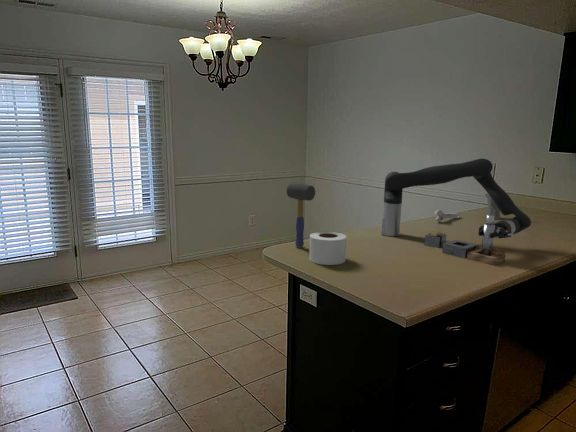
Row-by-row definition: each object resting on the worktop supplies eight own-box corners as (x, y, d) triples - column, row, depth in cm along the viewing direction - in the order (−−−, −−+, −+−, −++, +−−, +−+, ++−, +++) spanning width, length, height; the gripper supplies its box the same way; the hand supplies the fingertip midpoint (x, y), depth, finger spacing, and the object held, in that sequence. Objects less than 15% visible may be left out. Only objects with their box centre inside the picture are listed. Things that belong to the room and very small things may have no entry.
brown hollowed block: (466, 258, 192) (467, 247, 191) (477, 254, 198) (478, 244, 197) (493, 265, 183) (495, 254, 182) (504, 261, 189) (505, 250, 188)
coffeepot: (478, 217, 283) (481, 189, 279) (486, 215, 288) (489, 188, 285) (502, 221, 271) (505, 192, 267) (509, 219, 276) (513, 191, 273)
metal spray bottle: (481, 256, 189) (485, 216, 185) (479, 253, 193) (484, 214, 189) (492, 257, 188) (496, 216, 184) (490, 254, 192) (495, 214, 188)
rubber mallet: (284, 246, 206) (285, 182, 200) (294, 243, 211) (295, 181, 205) (304, 251, 198) (306, 185, 192) (314, 248, 203) (316, 184, 197)
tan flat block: (439, 240, 221) (440, 226, 219) (444, 241, 219) (446, 227, 217) (429, 245, 212) (430, 230, 210) (435, 246, 210) (436, 231, 208)
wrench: (458, 222, 280) (435, 223, 260) (456, 221, 281) (432, 222, 261) (460, 210, 279) (437, 209, 259) (458, 209, 280) (434, 209, 260)
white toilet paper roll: (308, 254, 194) (309, 230, 192) (343, 255, 194) (344, 231, 191) (309, 265, 179) (310, 239, 177) (347, 266, 178) (348, 240, 176)
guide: (431, 241, 219) (432, 232, 218) (445, 244, 215) (446, 234, 214) (424, 245, 212) (425, 235, 211) (438, 247, 208) (439, 237, 207)
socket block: (442, 252, 200) (443, 243, 199) (454, 248, 207) (455, 239, 206) (465, 258, 192) (466, 248, 191) (477, 254, 199) (478, 244, 198)
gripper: (488, 218, 202) (470, 223, 191) (520, 223, 191) (503, 229, 180) (486, 233, 203) (468, 239, 192) (518, 240, 193) (501, 246, 182)
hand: (485, 234), depth 186 cm, fingers closed on metal spray bottle, 4 cm apart
